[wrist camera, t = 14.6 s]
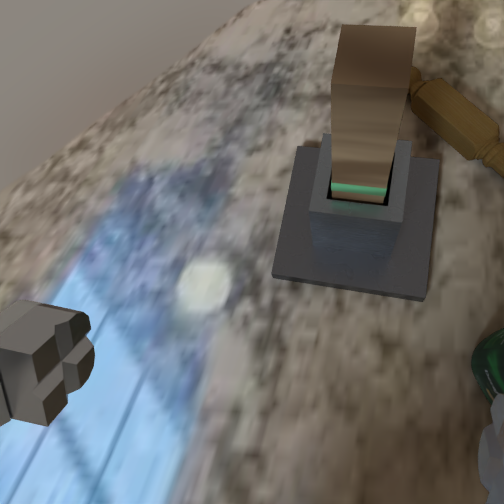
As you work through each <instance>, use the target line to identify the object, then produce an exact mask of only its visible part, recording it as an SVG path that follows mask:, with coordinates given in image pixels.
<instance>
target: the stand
mask: <svg viewBox="0 0 504 504" xmlns="http://www.w3.org/2000/svg"><path fill="white" fill-rule="evenodd" d="M411 147H412V141H405V140H397V142H396V147H395V151H394V156H393V160H392V165H391V169H390V174H389V178H388V184H387V190H386V195H385V196H384V200H383V205H382V206H380V205H372V204H364V203H355V202H347V201H338V200H332V190H331V181H332V146H331V134H325V133H323V138H322V143H321V148H314V147H303V146H297V151H296V156H295V161H294V166H293V171H292V176H291V181H290V185H289V190H288V195H287V200H286V205H285V210H284V215H283V220H282V224H281V229H280V234H279V239H278V244H277V249H276V254H275V258H274V263H273V268H272V273H271V274H272V276H273V278H276V279H282V280H289V281H295V282H301V283H307V284H314V285H320V286H326V287H332V288H339V289H345V290H351V291H358V292H364V293H370V294H376V295H383V296H389V297H395V298H401V299H408V300H414V301H420V302H423V301H424V299H425V298H426V289H427V280H428V270H429V260H430V250H431V240H432V230H433V220H434V210H435V200H436V190H437V181H438V171H439V161H440V160H439V159H429V158H418V157H410V155H411Z"/></svg>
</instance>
